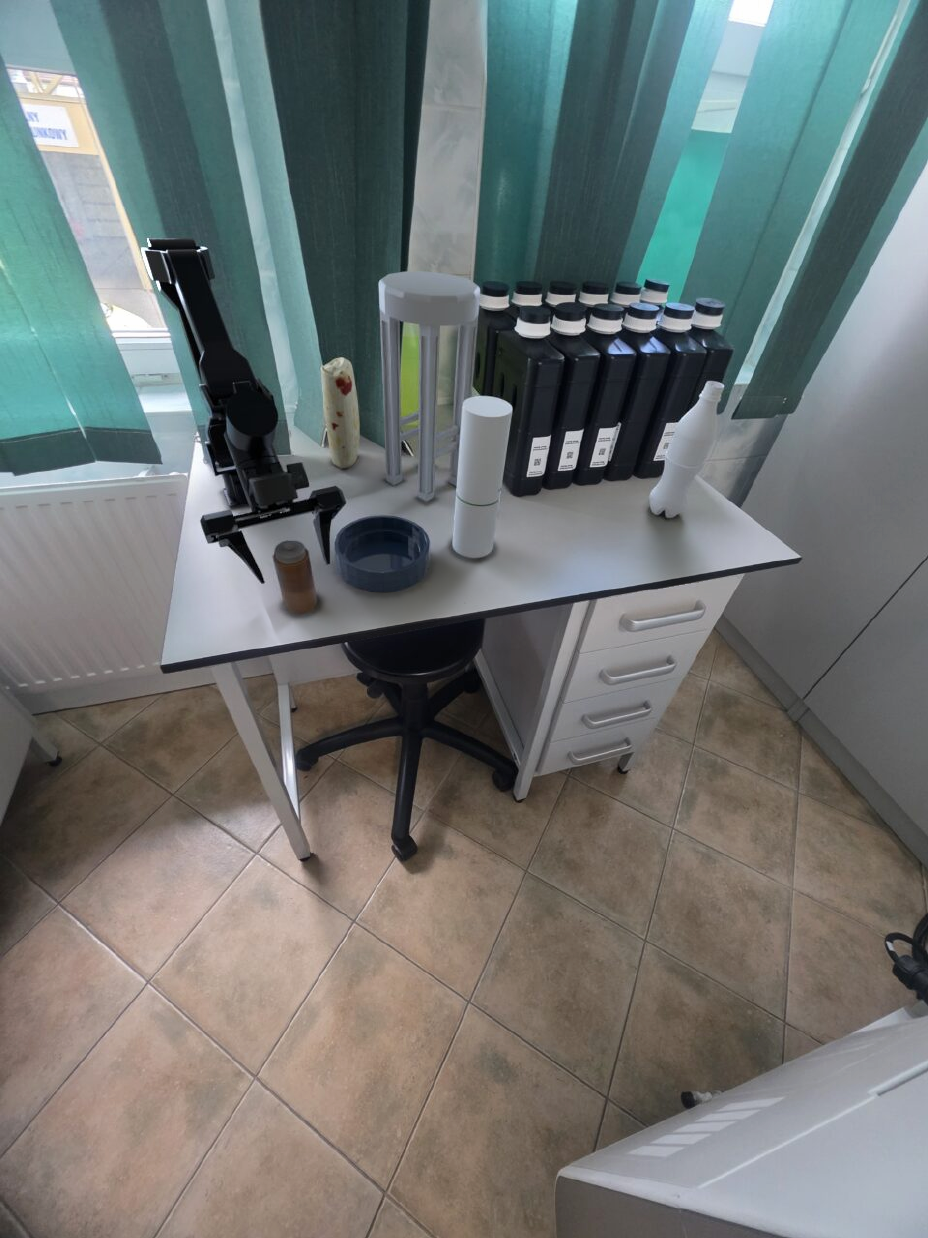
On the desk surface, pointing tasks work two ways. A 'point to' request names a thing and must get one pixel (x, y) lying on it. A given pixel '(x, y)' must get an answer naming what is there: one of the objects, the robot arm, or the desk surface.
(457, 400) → the stool
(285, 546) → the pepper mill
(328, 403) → the food model
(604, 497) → the desk surface
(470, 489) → the cylindrical container
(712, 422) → the water bottle
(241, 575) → the desk surface
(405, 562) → the bowl
